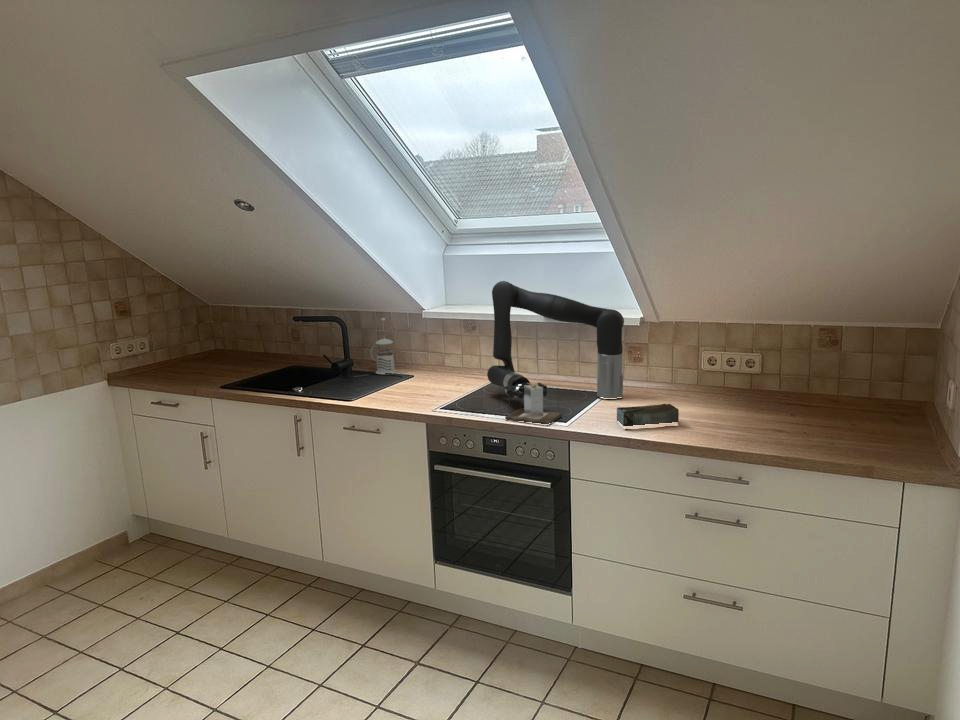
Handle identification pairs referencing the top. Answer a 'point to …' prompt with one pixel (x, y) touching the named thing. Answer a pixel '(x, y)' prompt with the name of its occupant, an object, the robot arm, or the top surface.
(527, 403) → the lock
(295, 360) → the top surface
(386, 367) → the french press
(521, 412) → the mount plate
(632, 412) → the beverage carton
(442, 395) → the top surface
